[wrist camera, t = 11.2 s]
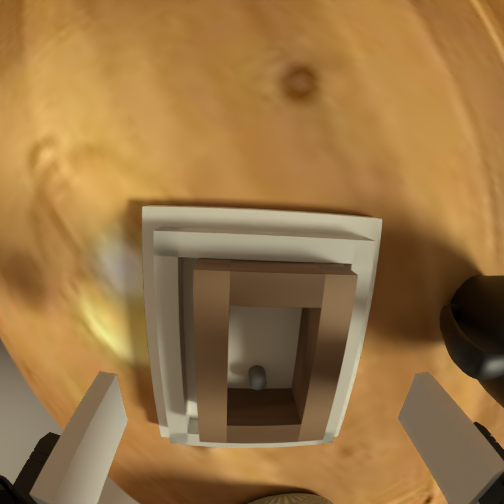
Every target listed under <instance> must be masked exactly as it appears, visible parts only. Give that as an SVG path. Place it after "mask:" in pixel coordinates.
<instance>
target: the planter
mask: <svg viewBox="0 0 504 504" xmlns="http://www.w3.org/2000/svg"><path fill="white" fill-rule="evenodd" d="M248 504H333V503H332V502H331V501H329V500H327V499H326V498H324V497H321V496H317V495H313V494H305V493H289V494H279V495H273V496H268V497H264V498H261V499H258V500H255V501H252V502H250V503H248Z"/></svg>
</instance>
